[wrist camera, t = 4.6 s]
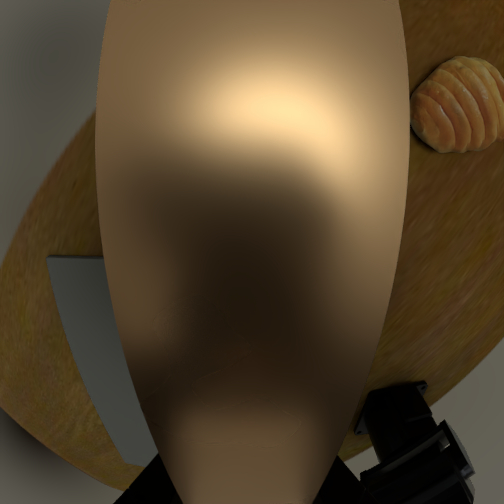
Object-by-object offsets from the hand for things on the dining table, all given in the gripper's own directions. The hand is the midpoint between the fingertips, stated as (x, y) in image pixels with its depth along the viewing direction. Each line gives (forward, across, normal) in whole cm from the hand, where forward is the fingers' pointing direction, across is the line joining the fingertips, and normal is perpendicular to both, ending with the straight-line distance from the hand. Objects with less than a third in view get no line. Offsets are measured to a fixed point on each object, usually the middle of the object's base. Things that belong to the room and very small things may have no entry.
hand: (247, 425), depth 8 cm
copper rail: (-1, 0, 0) cm, 1 cm away
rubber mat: (+11, +11, +12) cm, 20 cm away
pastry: (+12, -15, -13) cm, 23 cm away
